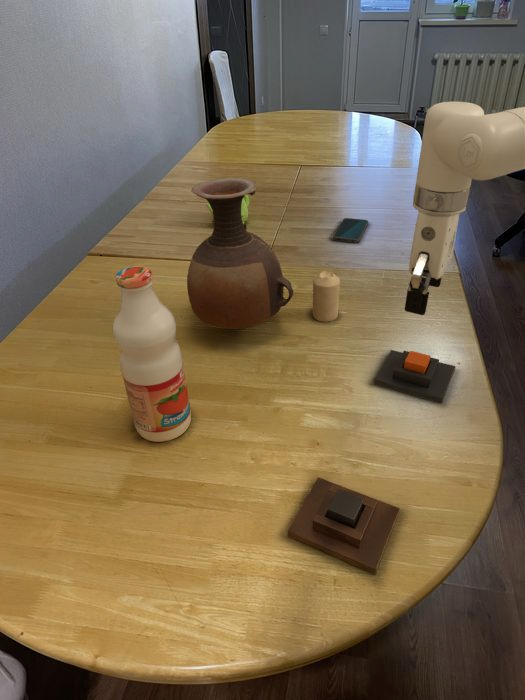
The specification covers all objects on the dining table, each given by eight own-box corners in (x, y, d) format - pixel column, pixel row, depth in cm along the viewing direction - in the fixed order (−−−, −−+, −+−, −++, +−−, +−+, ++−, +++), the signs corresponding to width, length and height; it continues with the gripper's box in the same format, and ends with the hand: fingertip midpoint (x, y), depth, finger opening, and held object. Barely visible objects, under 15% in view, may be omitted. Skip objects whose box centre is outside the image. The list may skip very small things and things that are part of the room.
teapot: (215, 215, 163) (212, 184, 157) (251, 215, 162) (249, 184, 156) (208, 230, 154) (204, 197, 148) (246, 230, 152) (244, 197, 147)
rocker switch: (363, 507, 68) (363, 498, 67) (353, 528, 66) (354, 519, 65) (337, 497, 70) (338, 488, 69) (327, 517, 67) (327, 509, 66)
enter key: (429, 363, 93) (430, 355, 92) (423, 374, 90) (425, 366, 89) (409, 358, 94) (410, 350, 93) (403, 369, 92) (404, 361, 91)
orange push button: (454, 371, 95) (457, 358, 93) (441, 403, 88) (444, 390, 86) (390, 354, 100) (392, 341, 98) (373, 384, 93) (375, 371, 91)
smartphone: (331, 240, 144) (331, 237, 143) (343, 220, 155) (344, 217, 155) (358, 243, 142) (359, 240, 141) (369, 222, 153) (369, 219, 153)
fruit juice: (149, 401, 91) (117, 256, 75) (199, 408, 89) (178, 260, 73) (126, 439, 84) (85, 287, 68) (180, 447, 82) (152, 292, 66)
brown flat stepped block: (399, 513, 70) (401, 499, 69) (375, 574, 63) (377, 560, 62) (317, 482, 75) (318, 468, 73) (287, 536, 68) (287, 521, 66)
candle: (339, 321, 110) (341, 279, 104) (313, 322, 110) (314, 280, 104) (336, 308, 115) (338, 267, 109) (311, 309, 115) (312, 268, 109)
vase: (308, 327, 109) (310, 185, 91) (240, 369, 98) (228, 216, 80) (235, 292, 122) (225, 162, 105) (169, 325, 112) (145, 186, 94)
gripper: (454, 222, 68) (432, 330, 78) (478, 181, 80) (457, 280, 90) (397, 213, 71) (384, 318, 81) (429, 175, 83) (414, 271, 93)
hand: (422, 298), depth 85 cm, fingers open, 9 cm apart
